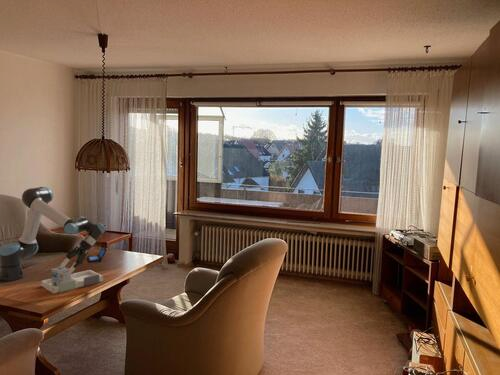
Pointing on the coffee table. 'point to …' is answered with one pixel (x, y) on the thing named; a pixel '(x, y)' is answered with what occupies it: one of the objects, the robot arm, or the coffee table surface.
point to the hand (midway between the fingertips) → (65, 269)
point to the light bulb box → (60, 275)
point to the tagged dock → (74, 281)
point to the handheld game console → (97, 256)
